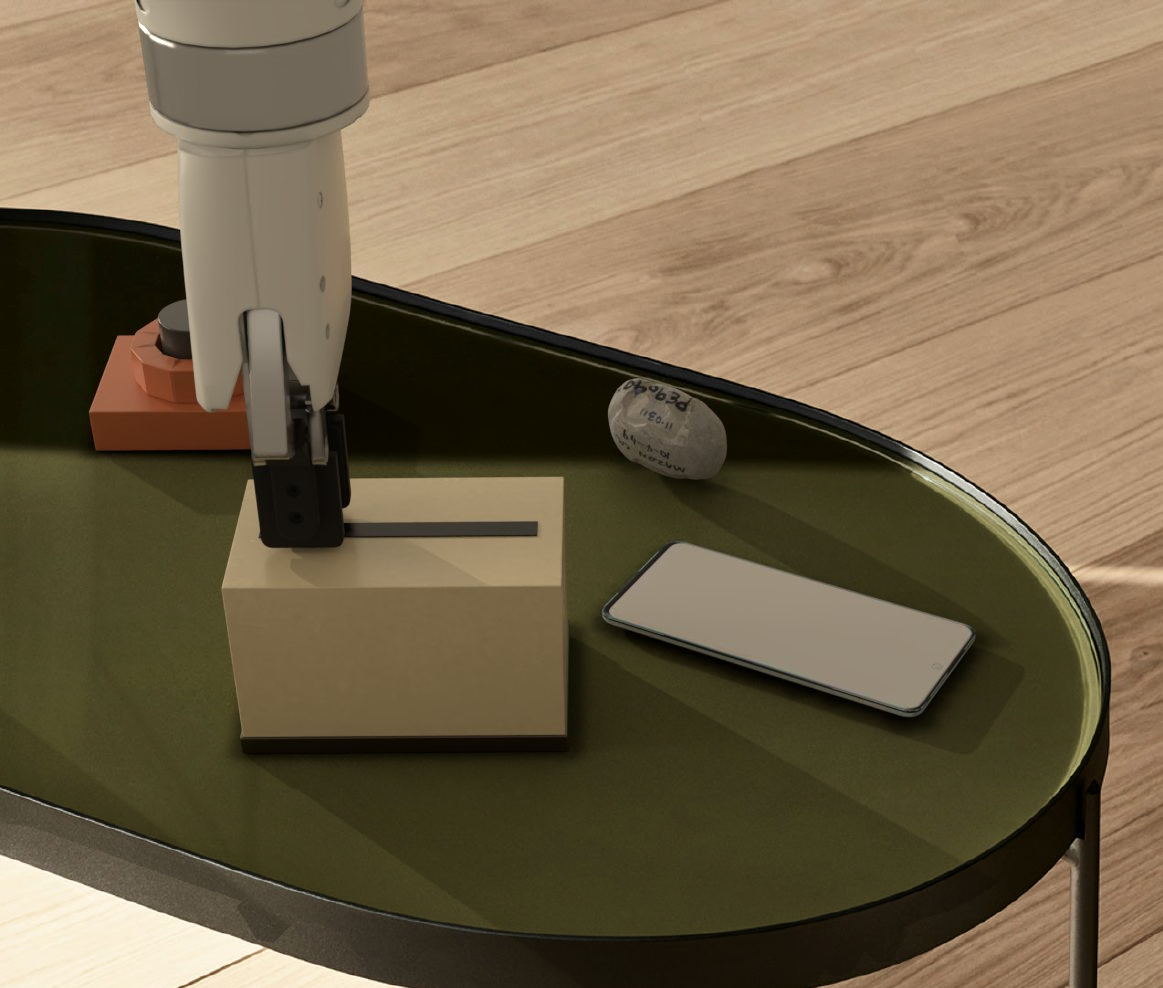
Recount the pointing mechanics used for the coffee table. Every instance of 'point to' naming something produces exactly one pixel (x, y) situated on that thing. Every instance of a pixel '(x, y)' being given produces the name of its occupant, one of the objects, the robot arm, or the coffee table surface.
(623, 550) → the coffee table surface
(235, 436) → the timer box
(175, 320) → the timer button
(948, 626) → the smartphone
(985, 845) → the coffee table surface
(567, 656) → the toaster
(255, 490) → the robot arm
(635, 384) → the fossil
